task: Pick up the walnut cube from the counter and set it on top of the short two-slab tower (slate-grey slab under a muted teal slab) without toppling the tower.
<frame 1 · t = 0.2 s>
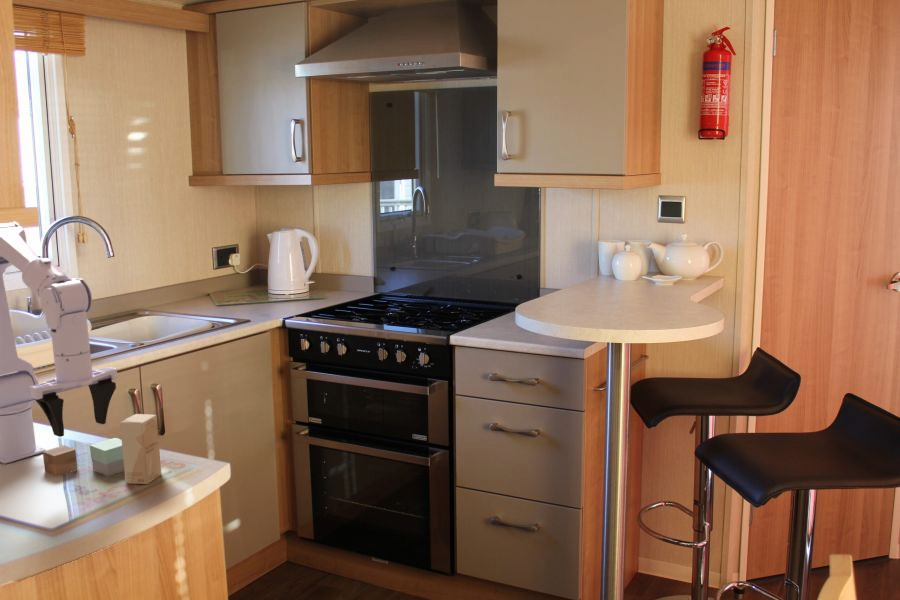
hand: (80, 429, 153), 10 cm above the countertop, fingers open, 7 cm apart
slab upper: (111, 457, 161), point 2 cm above the countertop, touching slab lower
walnut cube: (61, 471, 161), on the countertop
slab lower: (113, 470, 161), on the countertop, touching slab upper
box: (144, 479, 156), on the countertop
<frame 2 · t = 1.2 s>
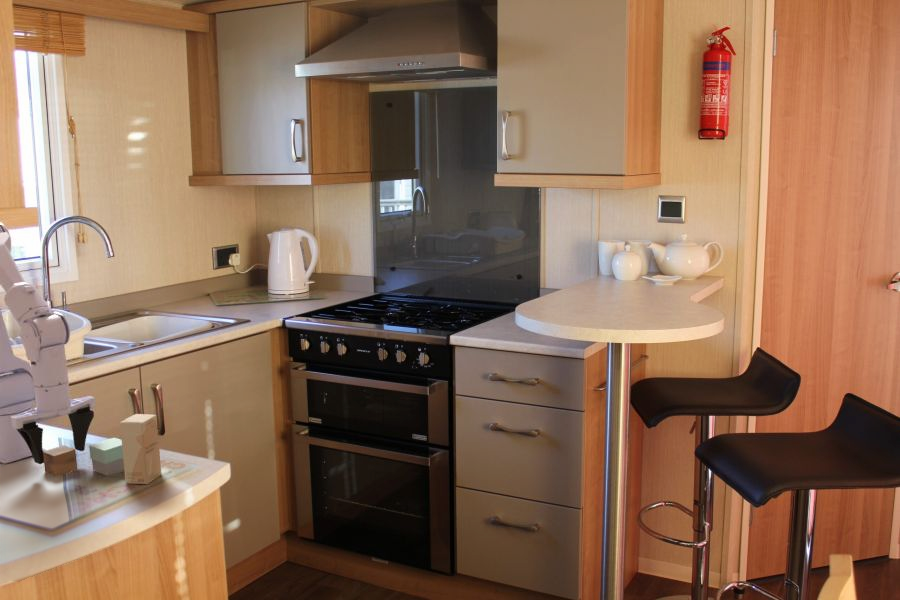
hand: (59, 456, 160), 3 cm above the countertop, fingers open, 7 cm apart
nothing on the countertop moved.
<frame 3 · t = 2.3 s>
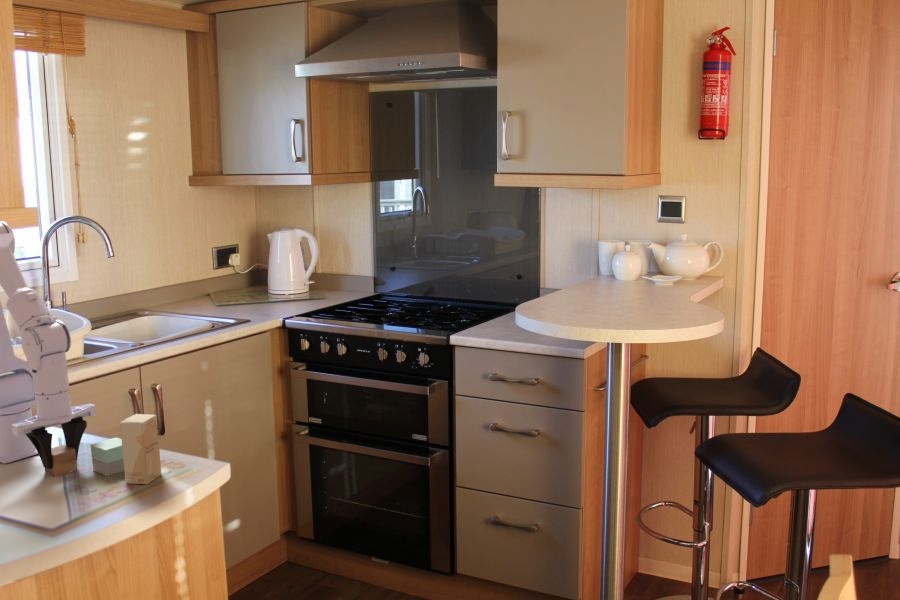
hand: (60, 463, 161), 1 cm above the countertop, fingers closed on walnut cube, 4 cm apart
walnut cube: (61, 471, 161), on the countertop, touching gripper
everything else where it was.
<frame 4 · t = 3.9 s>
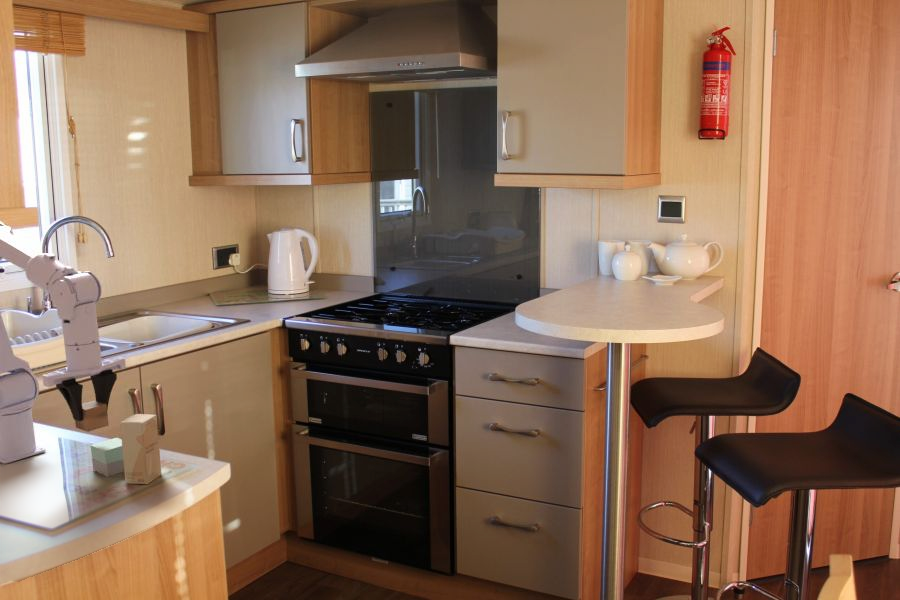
hand: (90, 416, 159), 10 cm above the countertop, fingers closed on walnut cube, 4 cm apart
walnut cube: (92, 426, 159), point 8 cm above the countertop, touching gripper
everything else where it was.
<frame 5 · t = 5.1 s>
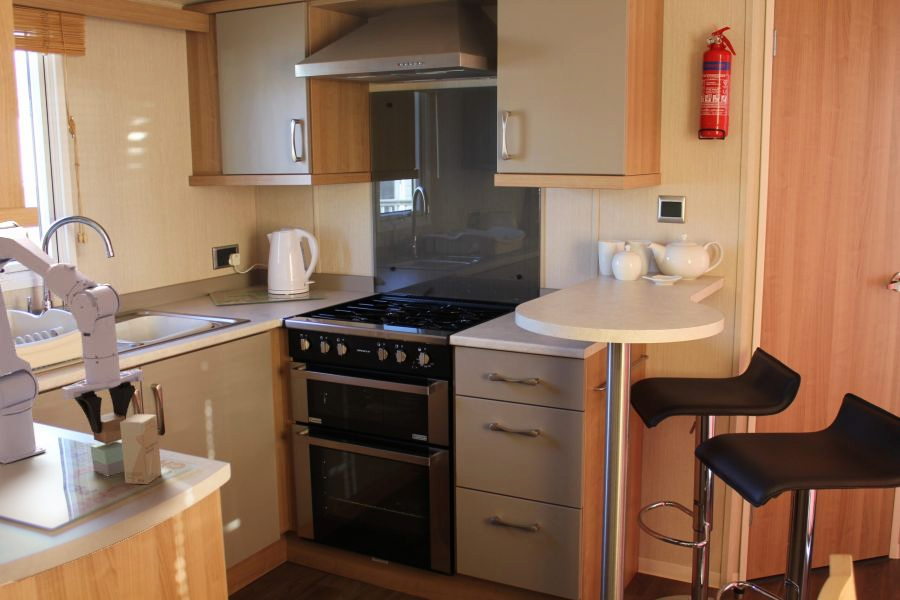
hand: (108, 428, 160), 8 cm above the countertop, fingers closed on walnut cube, 4 cm apart
walnut cube: (110, 438, 160), point 6 cm above the countertop, touching gripper
everything else where it was.
when the fingers open (8 cm above the countertop, at t = 5.4 s): walnut cube drops 1 cm, resting on slab upper.
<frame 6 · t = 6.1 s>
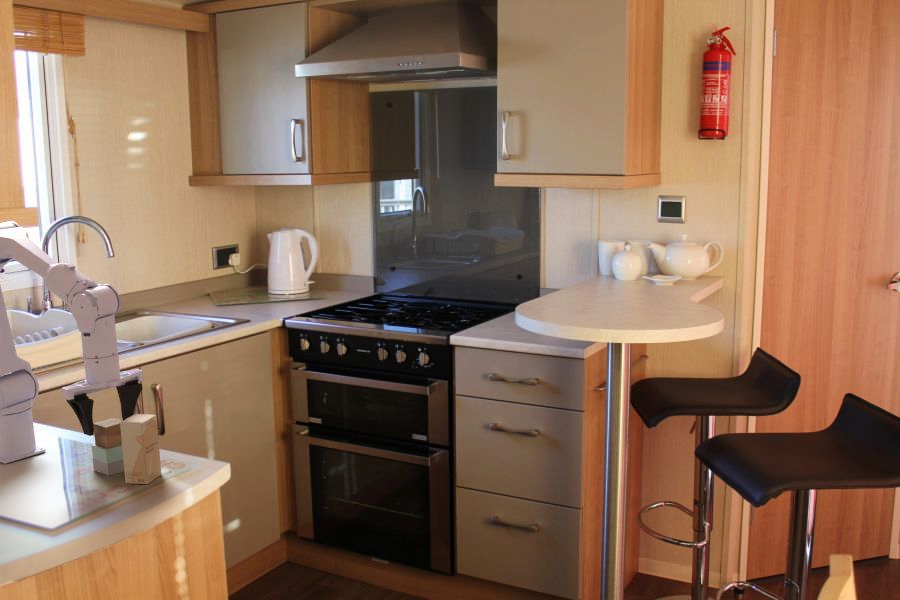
hand: (108, 428, 160), 8 cm above the countertop, fingers open, 7 cm apart
slab upper: (113, 457, 161), point 2 cm above the countertop, touching walnut cube
walnut cube: (111, 443, 160), point 5 cm above the countertop, touching slab upper
slab lower: (114, 470, 161), on the countertop
everything else where it was.
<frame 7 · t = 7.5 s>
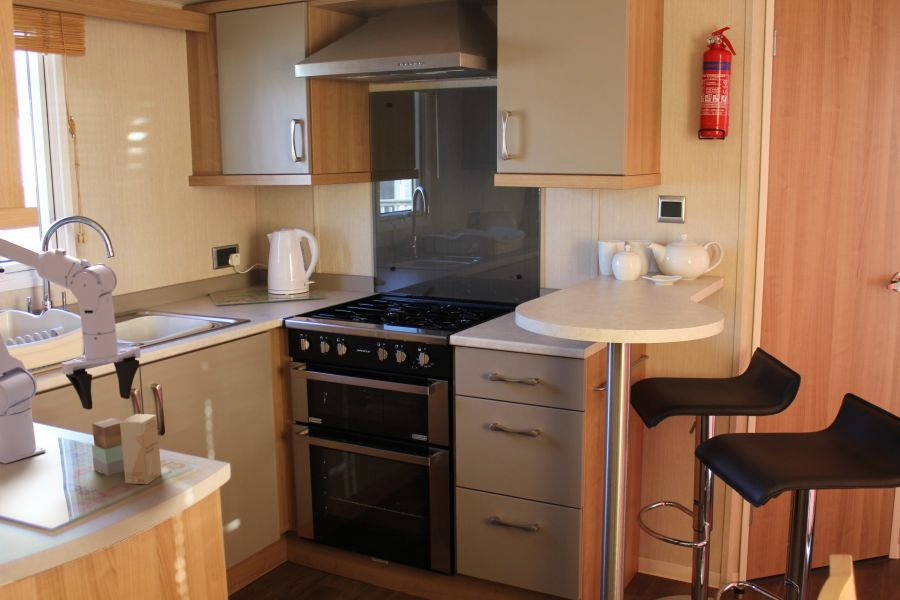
hand: (106, 403, 166), 10 cm above the countertop, fingers open, 7 cm apart
slab upper: (113, 456, 161), point 2 cm above the countertop, touching slab lower, walnut cube
slab lower: (114, 470, 161), on the countertop, touching slab upper
everything else where it was.
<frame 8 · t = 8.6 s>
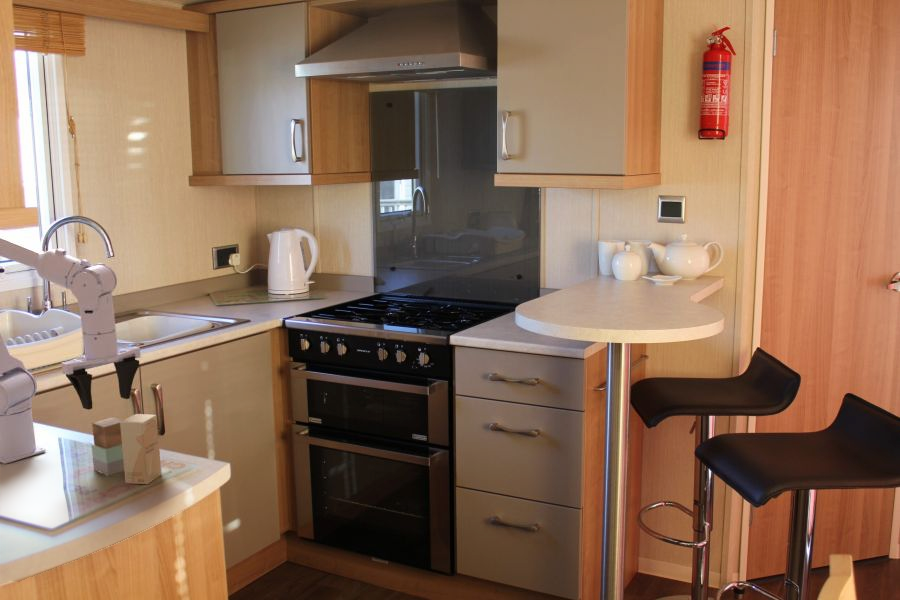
hand: (106, 403, 166), 10 cm above the countertop, fingers open, 7 cm apart
nothing on the countertop moved.
at the end: walnut cube 0.1 cm off-centre on the slab upper, point 2.5 cm above the slab upper's base; walnut cube tilted 0°; slab upper moved 0.3 cm from its start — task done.
